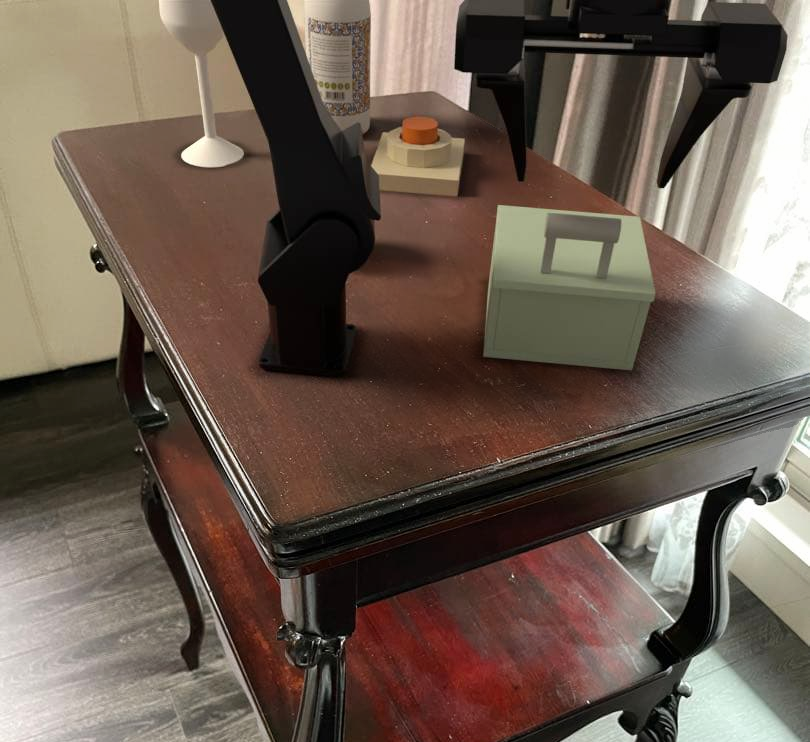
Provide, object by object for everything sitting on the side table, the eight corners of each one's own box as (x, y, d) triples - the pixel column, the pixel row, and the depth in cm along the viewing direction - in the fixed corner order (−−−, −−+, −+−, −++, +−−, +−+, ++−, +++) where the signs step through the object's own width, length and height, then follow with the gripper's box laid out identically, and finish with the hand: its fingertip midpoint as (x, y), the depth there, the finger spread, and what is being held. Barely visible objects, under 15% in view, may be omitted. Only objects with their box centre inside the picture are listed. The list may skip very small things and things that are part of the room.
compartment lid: (653, 302, 59) (672, 236, 55) (491, 288, 60) (500, 221, 56) (638, 224, 67) (653, 162, 64) (497, 213, 68) (504, 150, 64)
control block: (457, 197, 84) (460, 161, 82) (368, 189, 85) (368, 154, 82) (463, 154, 92) (466, 121, 89) (382, 148, 92) (382, 114, 90)
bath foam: (376, 138, 94) (378, -80, 80) (315, 142, 93) (306, -79, 78) (362, 116, 99) (362, -94, 84) (304, 119, 97) (294, -94, 83)
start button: (435, 148, 85) (436, 130, 84) (400, 146, 85) (400, 128, 84) (438, 135, 87) (439, 117, 86) (404, 132, 87) (404, 115, 86)
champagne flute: (240, 168, 87) (211, -123, 70) (175, 166, 87) (129, -127, 70) (248, 143, 92) (223, -136, 75) (187, 141, 92) (147, -139, 74)
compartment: (631, 370, 64) (652, 297, 60) (483, 356, 65) (492, 283, 60) (621, 295, 72) (638, 225, 67) (488, 283, 72) (496, 213, 68)
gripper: (783, -131, 50) (712, 142, 61) (468, -138, 51) (456, 131, 62) (833, -95, 42) (741, 209, 53) (461, -104, 43) (448, 196, 54)
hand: (590, 182), depth 56 cm, fingers open, 9 cm apart
